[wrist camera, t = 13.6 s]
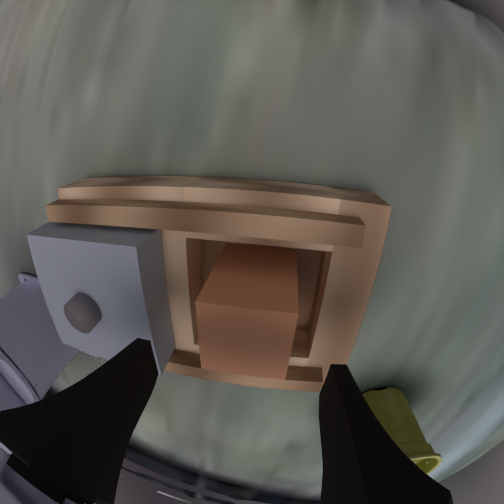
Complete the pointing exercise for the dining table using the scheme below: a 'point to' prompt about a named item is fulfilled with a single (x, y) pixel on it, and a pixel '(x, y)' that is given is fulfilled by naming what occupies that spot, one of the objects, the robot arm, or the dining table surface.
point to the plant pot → (402, 426)
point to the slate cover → (104, 287)
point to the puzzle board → (256, 234)
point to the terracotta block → (249, 311)
